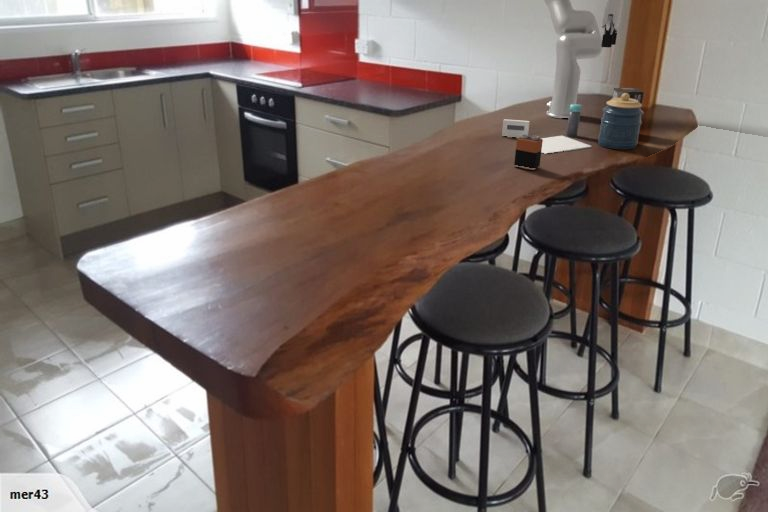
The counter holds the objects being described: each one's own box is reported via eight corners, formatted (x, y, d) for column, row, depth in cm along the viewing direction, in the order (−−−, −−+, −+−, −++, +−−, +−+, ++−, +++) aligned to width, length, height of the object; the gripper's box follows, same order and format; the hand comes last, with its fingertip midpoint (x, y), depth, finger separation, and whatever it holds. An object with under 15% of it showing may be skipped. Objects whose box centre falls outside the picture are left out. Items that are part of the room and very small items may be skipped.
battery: (534, 171, 184) (537, 139, 180) (513, 167, 188) (516, 135, 183) (539, 167, 188) (543, 135, 183) (519, 163, 191) (522, 132, 187)
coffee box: (631, 132, 226) (639, 87, 219) (636, 137, 220) (644, 91, 213) (606, 131, 227) (613, 87, 220) (610, 136, 221) (618, 90, 214)
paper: (516, 143, 212) (516, 141, 212) (561, 136, 220) (562, 135, 220) (544, 154, 200) (545, 153, 200) (591, 147, 208) (591, 146, 208)
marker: (563, 135, 222) (567, 104, 217) (572, 133, 224) (576, 103, 219) (571, 137, 219) (575, 106, 214) (579, 136, 220) (584, 105, 216)
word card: (502, 135, 221) (503, 119, 218) (527, 137, 218) (529, 121, 216) (501, 136, 220) (503, 120, 217) (527, 138, 217) (529, 121, 215)
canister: (596, 148, 207) (604, 95, 199) (598, 138, 218) (606, 88, 210) (637, 152, 203) (647, 98, 195) (636, 142, 214) (646, 90, 206)
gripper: (608, -9, 214) (601, 43, 221) (600, -8, 200) (592, 47, 207) (631, -9, 211) (623, 44, 218) (624, -7, 197) (616, 48, 204)
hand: (608, 45), depth 213 cm, fingers open, 9 cm apart
